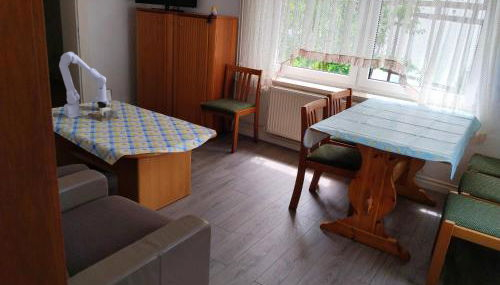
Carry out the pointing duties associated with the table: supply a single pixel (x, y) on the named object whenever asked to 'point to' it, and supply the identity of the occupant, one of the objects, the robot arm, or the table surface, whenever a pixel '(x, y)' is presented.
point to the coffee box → (109, 97)
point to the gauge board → (105, 115)
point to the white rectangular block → (104, 110)
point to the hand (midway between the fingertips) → (102, 112)
